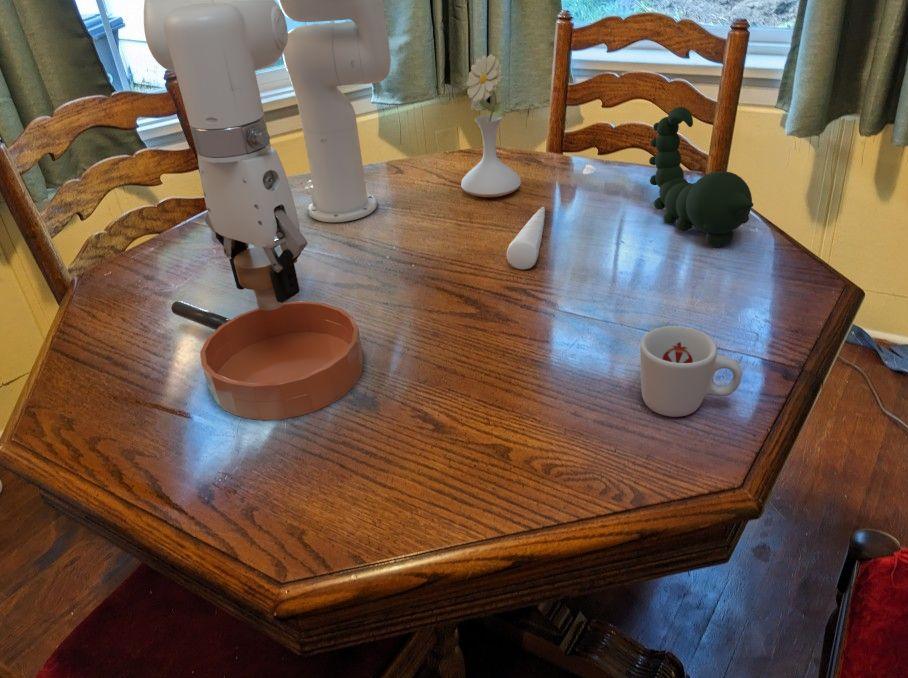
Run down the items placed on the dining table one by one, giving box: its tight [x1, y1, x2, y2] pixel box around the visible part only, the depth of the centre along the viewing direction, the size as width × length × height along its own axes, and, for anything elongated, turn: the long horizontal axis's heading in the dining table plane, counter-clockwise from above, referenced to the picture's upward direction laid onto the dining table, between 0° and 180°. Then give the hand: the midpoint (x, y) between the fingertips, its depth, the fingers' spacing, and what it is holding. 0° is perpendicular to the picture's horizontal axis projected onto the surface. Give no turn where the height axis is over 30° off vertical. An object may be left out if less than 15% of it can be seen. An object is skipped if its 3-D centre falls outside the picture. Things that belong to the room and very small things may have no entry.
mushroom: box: [234, 245, 286, 311], centre depth 85 cm, size 6×6×6 cm
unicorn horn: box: [506, 206, 546, 271], centre depth 119 cm, size 5×24×5 cm, turn 163°
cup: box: [639, 325, 742, 418], centre depth 80 cm, size 11×8×8 cm
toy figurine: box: [648, 106, 754, 247], centre depth 114 cm, size 9×19×25 cm
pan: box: [199, 300, 364, 421], centre depth 92 cm, size 19×19×5 cm
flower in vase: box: [460, 53, 522, 198], centre depth 131 cm, size 13×11×25 cm
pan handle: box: [170, 300, 232, 331], centre depth 98 cm, size 12×2×2 cm, turn 55°
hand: (268, 289), depth 86 cm, fingers closed on mushroom, 6 cm apart
